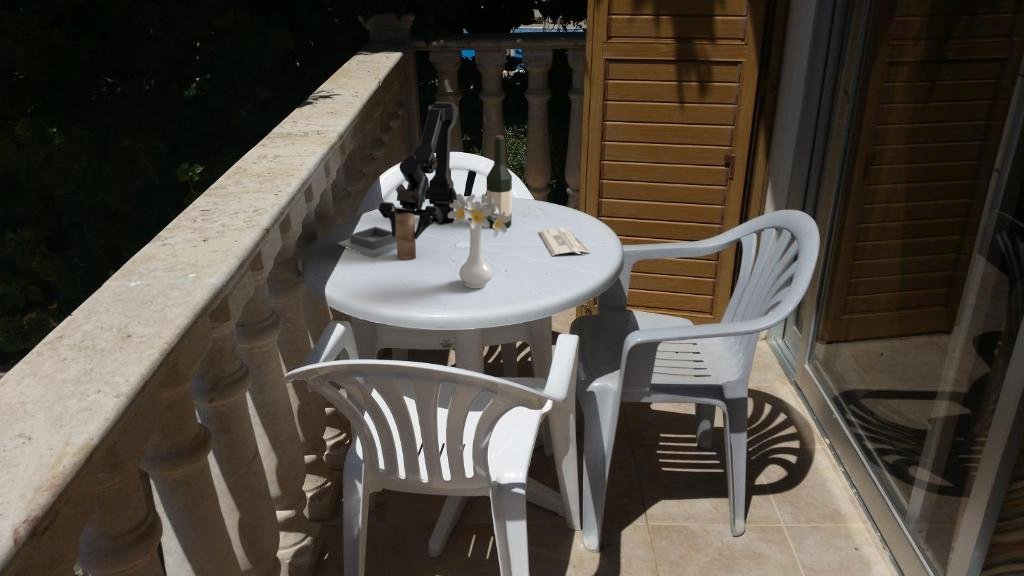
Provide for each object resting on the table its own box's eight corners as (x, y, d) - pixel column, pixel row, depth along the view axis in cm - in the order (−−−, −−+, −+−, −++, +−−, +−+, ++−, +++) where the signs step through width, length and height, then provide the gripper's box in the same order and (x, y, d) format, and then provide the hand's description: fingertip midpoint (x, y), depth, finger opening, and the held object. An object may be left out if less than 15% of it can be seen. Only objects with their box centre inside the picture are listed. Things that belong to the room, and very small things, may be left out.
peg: (410, 252, 247) (408, 211, 242) (419, 257, 243) (417, 216, 238) (394, 256, 244) (392, 214, 239) (403, 261, 240) (401, 219, 235)
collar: (376, 232, 263) (376, 222, 262) (411, 243, 254) (410, 233, 253) (337, 245, 252) (337, 235, 251) (372, 257, 243) (372, 246, 241)
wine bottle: (496, 219, 277) (496, 132, 266) (516, 224, 273) (517, 135, 261) (481, 225, 271) (481, 136, 259) (501, 230, 267) (502, 140, 255)
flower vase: (496, 299, 215) (496, 209, 205) (437, 286, 223) (435, 198, 213) (519, 283, 226) (520, 196, 216) (462, 270, 234) (461, 186, 224)
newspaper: (592, 256, 247) (591, 248, 246) (552, 262, 246) (552, 254, 245) (575, 232, 268) (574, 224, 267) (538, 237, 266) (538, 230, 265)
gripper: (378, 175, 240) (365, 222, 234) (438, 180, 236) (427, 228, 230) (390, 194, 250) (378, 239, 245) (447, 198, 246) (436, 245, 240)
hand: (404, 237), depth 240 cm, fingers open, 7 cm apart
